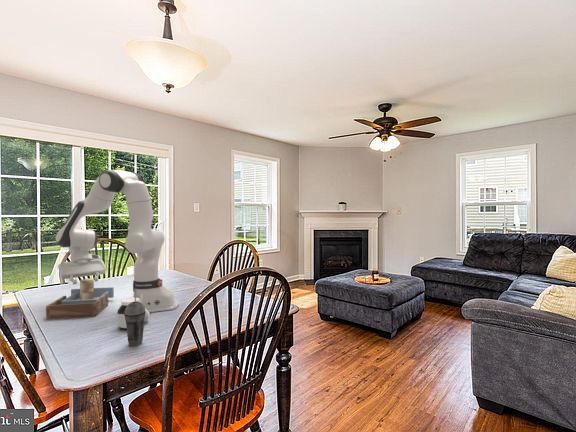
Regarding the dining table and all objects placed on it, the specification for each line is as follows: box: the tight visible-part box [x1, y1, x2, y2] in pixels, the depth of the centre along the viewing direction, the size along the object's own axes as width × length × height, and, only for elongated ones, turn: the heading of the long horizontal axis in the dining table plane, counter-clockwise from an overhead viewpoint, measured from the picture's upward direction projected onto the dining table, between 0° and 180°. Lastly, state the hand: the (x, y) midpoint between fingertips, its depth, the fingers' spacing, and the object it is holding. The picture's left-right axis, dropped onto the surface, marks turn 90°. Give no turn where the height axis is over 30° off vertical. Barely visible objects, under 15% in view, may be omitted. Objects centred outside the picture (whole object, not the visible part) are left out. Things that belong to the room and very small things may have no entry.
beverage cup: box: [124, 289, 146, 348], centre depth 117 cm, size 7×7×20 cm
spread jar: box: [116, 297, 151, 331], centre depth 136 cm, size 12×11×12 cm
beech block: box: [79, 278, 95, 300], centre depth 162 cm, size 5×5×11 cm
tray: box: [61, 286, 115, 305], centre depth 163 cm, size 19×20×5 cm
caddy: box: [45, 294, 109, 320], centre depth 153 cm, size 17×20×6 cm
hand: (86, 282), depth 163 cm, fingers open, 8 cm apart
